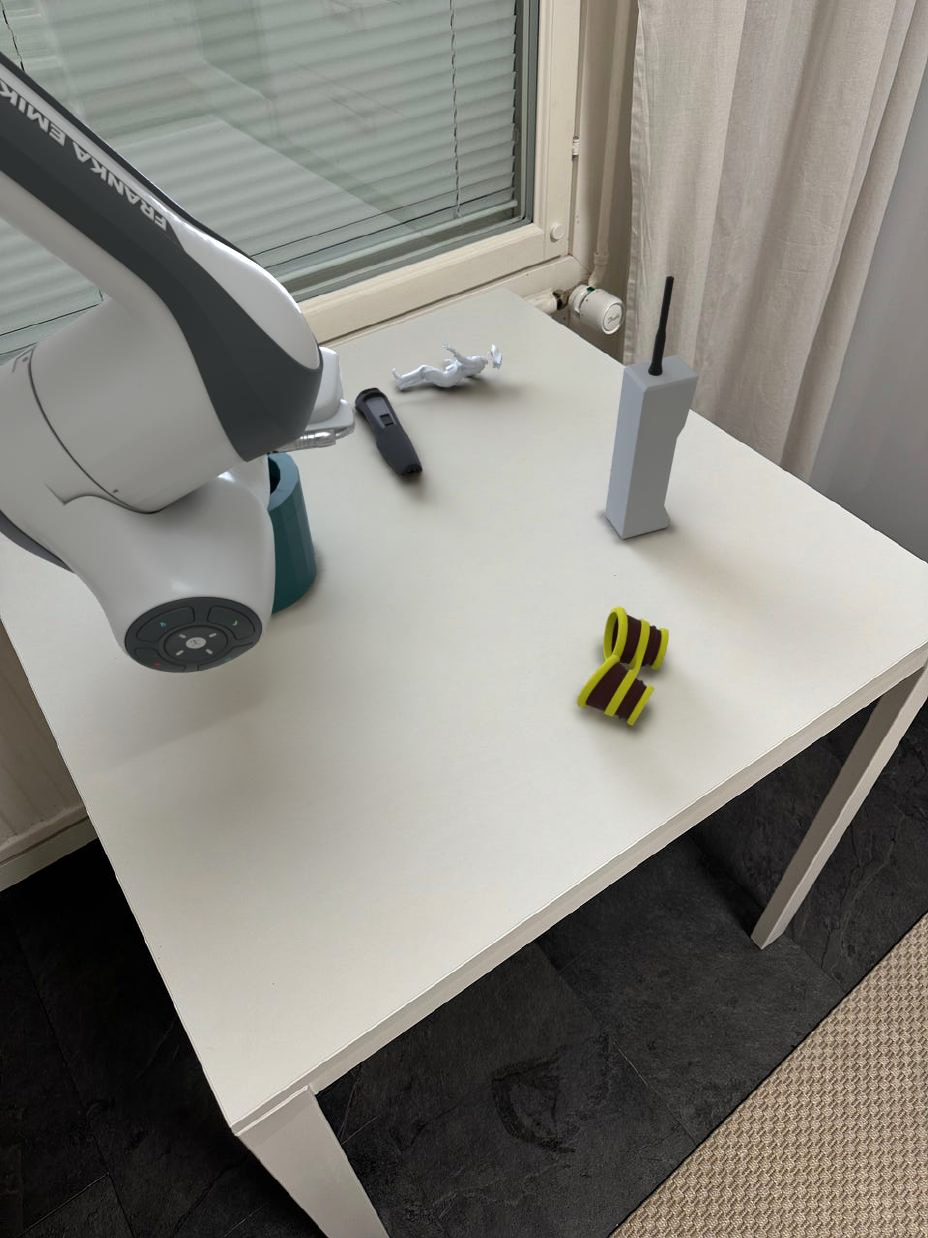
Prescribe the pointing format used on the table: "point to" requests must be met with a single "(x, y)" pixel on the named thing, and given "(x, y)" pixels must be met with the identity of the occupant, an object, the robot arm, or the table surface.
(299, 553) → the cup
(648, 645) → the opera glasses
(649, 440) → the vintage mobile phone
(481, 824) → the table surface
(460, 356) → the soldier figure
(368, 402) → the electric trimmer
